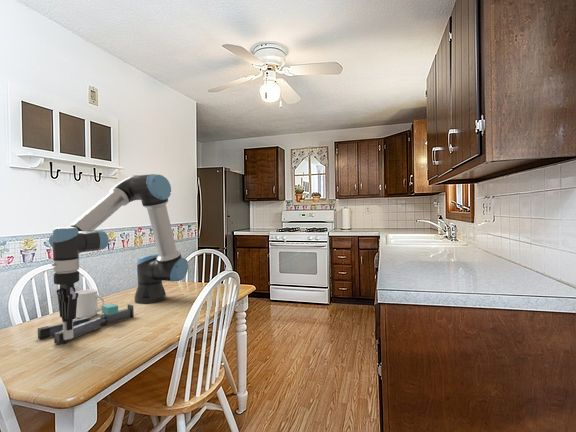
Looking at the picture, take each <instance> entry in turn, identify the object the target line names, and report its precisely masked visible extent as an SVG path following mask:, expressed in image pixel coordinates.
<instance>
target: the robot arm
mask: <svg viewBox="0 0 576 432" xmlns="http://www.w3.org/2000/svg"><path fill="white" fill-rule="evenodd" d="M171 192H172V186H171V183H170V180H169V179H168V178H167V177H165V176H164V175H163V174H156V173H155V174H154V173H150V174H140V175H138V174H137V175H132V176H129V177H126V178H124V179H123V180H122V181H120V182H119V183H117V184H116V185H114V186H113V187H112V188H111V189H110V190H109V193H108V194H107V195H106V196H105V197H103V198H102V199H100V200H99V201H98V202H97V203H95V205H93V206H91V208H89V209H88V210H86V211H85V212H84V213H83V214H81V216H79V217H78V218H76V220H74V221H73V222H72V223H71V224H69V225H68V226H66V227H56V228H54V229H53V230H52V233H51V234H50V235H49V239H48V243H49V245H50V247H51V248H52V260H53V261H52V262H53V263H51V267H53V273H54V274H53V284H54V285H57V286H59V288H58V289H56V291H55V292H56V296H57V301H58V302H57V303H58V311H59V318H61V321H62V322H61V323H63V339H64V340H67V339H71V338H73V320H76V318H77V317H76V308H77V298H78V293H75V292H76V287H75V283H79V281H80V271H79V269H80V253H86V252H95V251H96V252H98V251H101V250H105V249H106V248H107V247H108V246H109V243H110V242H109V241H110V239H109V235H108V234H107V233H106V232H105V231H103V230H96V229H97V228H98V227H100V225H102V224H103V223H104V222H105V221H106V220H108V218H110V217H111V216H112V215H114V214H115V212H117V211H118V210H119V209H120V208H121V207H122V206H123V207H124V206H127V205H128V204H129V203H132V202H134V201H141V204H142V207H144V208H146V210H147V213H148V217H149V221H150V226H151V229H152V234H153V237H154V241H155V245H156V249H157V253H155V254H149V255H143V256H139V257H138V258H137V264H136V266H137V268H136V270H137V273H136V274H137V288H136V291H135V294H134V298H133V299H134V303H137V304H152V303H158V302H162V301H164V300H166V298H167V293H166V290H165V288H164V285H163V281H165V282H171V283H172V282H173V283H174V282H181V281H182V280H184V279H185V278H186V276H187V273H188V271H189V262H188V259H186V258H185V257H182V253H181V251H179V250H177V246H176V242H175V241H176V240H175V238H174V233H173V228H172V225H171V221H170V217H169V212H168V208H167V204H168V202H169V198H170V196H171V194H172V193H171ZM73 339H74V338H73ZM71 340H72V339H71Z"/></svg>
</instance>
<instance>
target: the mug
mask: <svg viewBox="0 0 576 432" xmlns="http://www.w3.org/2000/svg"><path fill="white" fill-rule="evenodd" d="M75 293H78V298H77V308H76V318H77V319H81V318H85V317H90V318H92V317H96V315H97V314H98V313H99V312H102V306H101V307H100V308H98V305H99V304H98V300H100V301H101V302H102V305H105V301H104V298H103V297H102V296H101V295H100V294H98V290H97V289H94V288H93V289H92V288H89V289H87V288H86V289H82V290H80V289H79V290H78V291H75Z"/></svg>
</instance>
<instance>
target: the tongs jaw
mask: <svg viewBox="0 0 576 432" xmlns="http://www.w3.org/2000/svg"><path fill="white" fill-rule="evenodd" d="M98 329H101V327H100V319H98V318H96V319H93V318H92V319H90V321H88V322H85V323H82V324H79V325H76V326H74V327H73V338H71V339H67V340H64V339H63V330H62V331H59V332H56V333H54V336H53V339H54V340H53V343H54V344H57V345H61V344H64V343H66V342H68V341H70V340H73V339H75V338H78V337H80V336H83V335H85V334H88V333H90V332H93V331H95V330H98Z"/></svg>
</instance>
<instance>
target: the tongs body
mask: <svg viewBox="0 0 576 432" xmlns="http://www.w3.org/2000/svg"><path fill="white" fill-rule="evenodd" d="M134 315H135V313H134V305H133V304H130V303H129V304H127V308H124V309H120V310H119V309H118V313H116V314H112V315H106V314H104V313H101V315H98V316H93V318H92V320H93V319H96V318H98V319H100V328H102V327H105V326H107V325H109V324H112V323H116V322H121V321H124V320H128V319H134V317H135V316H134ZM90 320H91V317H85V318H77V319H73V327H74V326H76V325H79V324H82V323H85V322H88V321H90ZM62 330H63V322H60V323H56V324H55V323H54V324H51V325H45V326H42V327H38V328H37V338H38V339H39V340H44V339H48V338H50V337H54V333H56V332H59V331H62Z"/></svg>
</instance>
